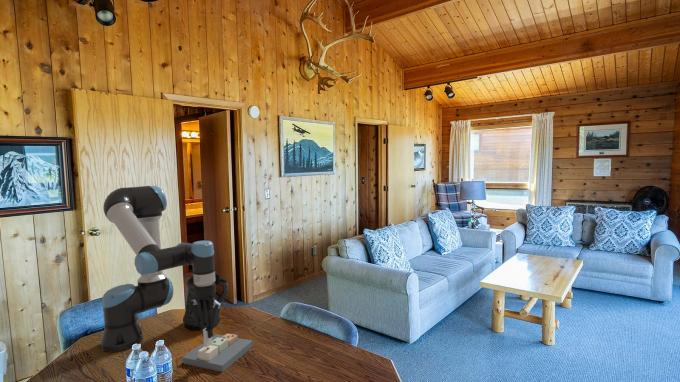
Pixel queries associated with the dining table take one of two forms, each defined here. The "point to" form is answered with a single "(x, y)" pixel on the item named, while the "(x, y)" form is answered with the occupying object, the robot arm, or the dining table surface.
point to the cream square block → (208, 353)
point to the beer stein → (189, 315)
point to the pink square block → (230, 338)
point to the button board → (219, 355)
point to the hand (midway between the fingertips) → (208, 345)
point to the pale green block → (220, 344)
